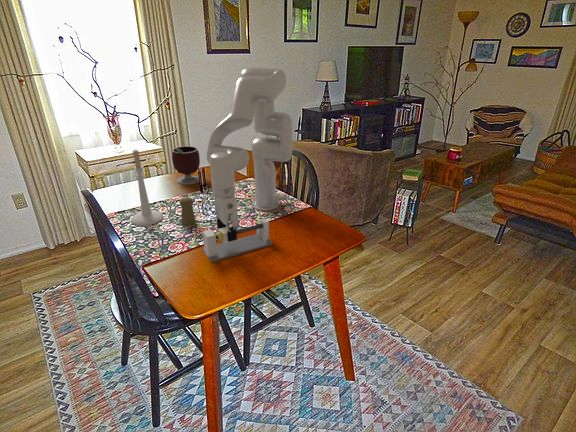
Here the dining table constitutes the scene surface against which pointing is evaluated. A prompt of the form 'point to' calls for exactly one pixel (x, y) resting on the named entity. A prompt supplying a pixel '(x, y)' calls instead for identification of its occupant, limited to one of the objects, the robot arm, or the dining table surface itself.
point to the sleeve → (224, 234)
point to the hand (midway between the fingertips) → (227, 234)
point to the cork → (187, 212)
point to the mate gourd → (186, 163)
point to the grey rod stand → (236, 242)
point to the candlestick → (144, 200)
